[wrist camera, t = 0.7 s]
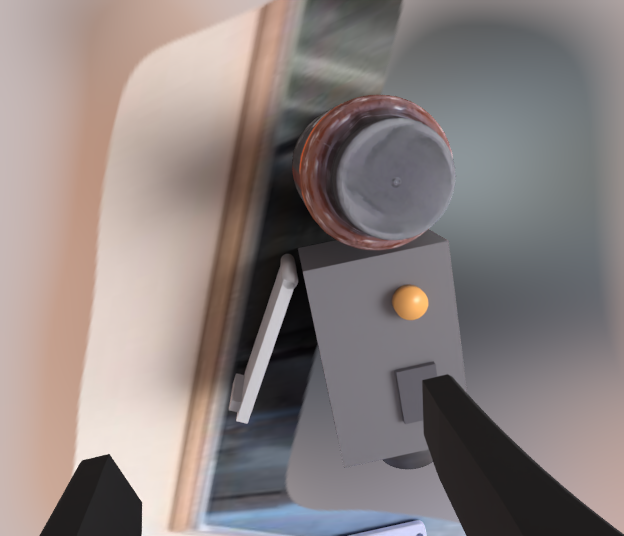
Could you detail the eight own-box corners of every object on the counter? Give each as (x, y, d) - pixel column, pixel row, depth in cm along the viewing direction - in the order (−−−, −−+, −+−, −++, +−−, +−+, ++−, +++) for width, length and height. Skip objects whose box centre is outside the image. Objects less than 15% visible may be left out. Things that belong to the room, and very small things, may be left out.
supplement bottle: (375, 233, 28) (442, 295, 17) (276, 199, 27) (278, 241, 16) (415, 130, 26) (515, 125, 16) (312, 90, 26) (342, 56, 15)
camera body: (445, 415, 31) (480, 473, 26) (337, 438, 31) (351, 502, 26) (417, 222, 28) (452, 243, 22) (297, 248, 28) (303, 275, 22)
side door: (252, 386, 29) (249, 424, 25) (232, 381, 29) (226, 418, 25) (296, 256, 27) (300, 275, 23) (276, 249, 27) (276, 268, 23)
